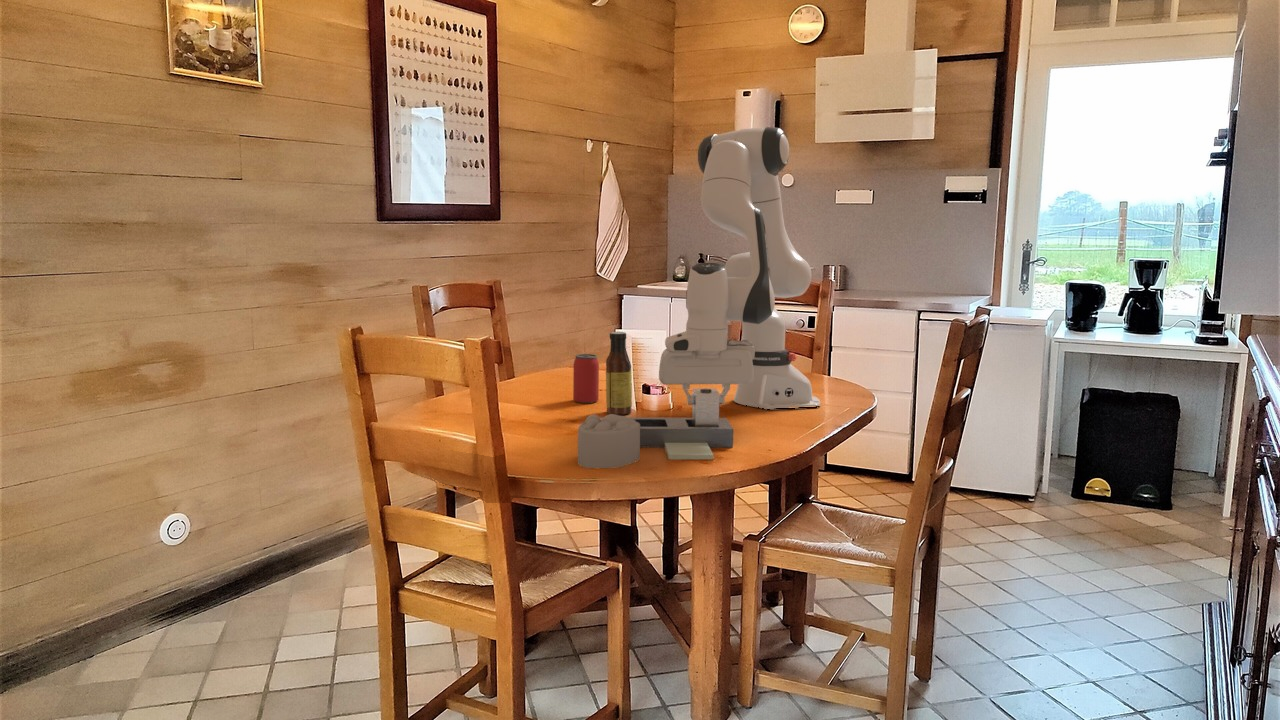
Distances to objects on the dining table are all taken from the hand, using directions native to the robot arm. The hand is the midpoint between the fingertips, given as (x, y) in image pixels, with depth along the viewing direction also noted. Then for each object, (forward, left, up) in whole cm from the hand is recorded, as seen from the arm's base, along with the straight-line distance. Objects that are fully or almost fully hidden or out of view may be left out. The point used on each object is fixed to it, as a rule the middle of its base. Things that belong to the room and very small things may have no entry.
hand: (705, 403), depth 184 cm
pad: (+5, +10, -8) cm, 14 cm away
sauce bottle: (+18, -26, -8) cm, 33 cm away
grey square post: (0, 0, -5) cm, 5 cm away
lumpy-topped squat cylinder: (+22, +15, -9) cm, 28 cm away
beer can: (+26, -39, -8) cm, 48 cm away
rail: (+7, 0, -8) cm, 11 cm away
